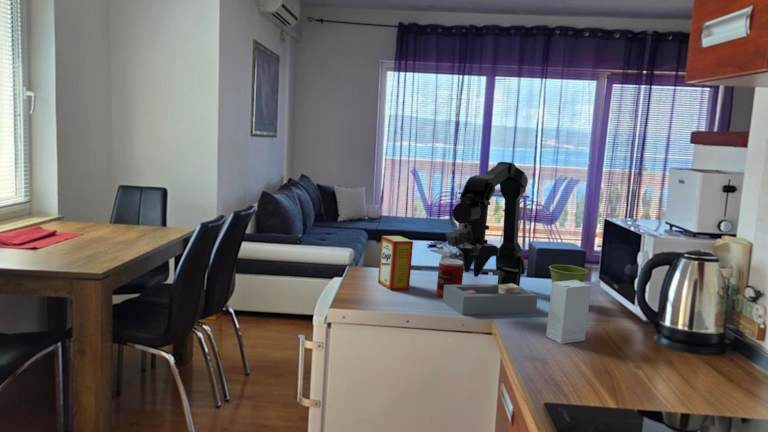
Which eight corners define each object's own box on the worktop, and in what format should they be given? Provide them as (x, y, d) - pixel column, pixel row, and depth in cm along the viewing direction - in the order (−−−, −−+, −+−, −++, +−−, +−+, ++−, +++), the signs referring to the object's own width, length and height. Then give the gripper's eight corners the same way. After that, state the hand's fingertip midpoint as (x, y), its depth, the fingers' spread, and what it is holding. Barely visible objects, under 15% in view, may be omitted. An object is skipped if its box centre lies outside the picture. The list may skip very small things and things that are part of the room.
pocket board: (512, 300, 190) (514, 284, 189) (535, 312, 178) (537, 295, 177) (442, 301, 182) (444, 284, 181) (462, 314, 170) (463, 296, 169)
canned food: (460, 293, 193) (463, 259, 192) (461, 300, 185) (464, 264, 184) (436, 291, 194) (439, 257, 193) (436, 297, 186) (439, 262, 185)
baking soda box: (378, 282, 199) (381, 234, 197) (395, 282, 202) (399, 234, 200) (390, 290, 191) (394, 240, 189) (408, 289, 193) (413, 240, 191)
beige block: (512, 291, 184) (512, 283, 184) (519, 295, 180) (519, 286, 180) (498, 293, 183) (498, 285, 182) (505, 297, 179) (505, 288, 179)
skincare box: (569, 334, 159) (576, 279, 158) (586, 342, 154) (593, 284, 152) (544, 336, 156) (550, 280, 154) (560, 344, 150) (567, 286, 148)
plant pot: (548, 296, 199) (552, 262, 198) (586, 303, 194) (590, 268, 193) (541, 304, 188) (545, 268, 187) (581, 311, 183) (585, 274, 182)
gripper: (437, 215, 180) (432, 266, 182) (466, 225, 163) (460, 282, 165) (471, 216, 184) (466, 266, 186) (502, 226, 167) (496, 282, 169)
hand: (471, 274), depth 176 cm, fingers open, 5 cm apart
